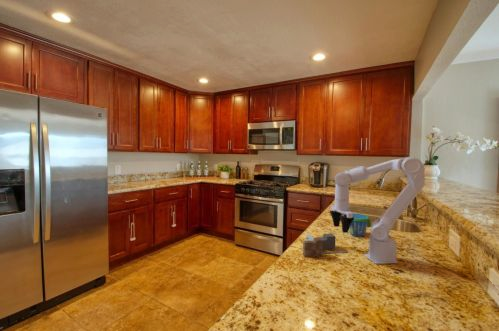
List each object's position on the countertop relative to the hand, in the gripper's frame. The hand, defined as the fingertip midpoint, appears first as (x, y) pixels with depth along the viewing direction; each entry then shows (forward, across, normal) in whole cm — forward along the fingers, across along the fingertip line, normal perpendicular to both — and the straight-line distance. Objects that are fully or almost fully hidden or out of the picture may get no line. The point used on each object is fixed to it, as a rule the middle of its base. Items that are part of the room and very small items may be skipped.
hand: (340, 229), depth 100 cm
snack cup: (+10, -19, +20) cm, 29 cm away
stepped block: (+10, -4, -5) cm, 12 cm away
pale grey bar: (+10, -5, -11) cm, 16 cm away
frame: (+10, +3, -8) cm, 13 cm away
